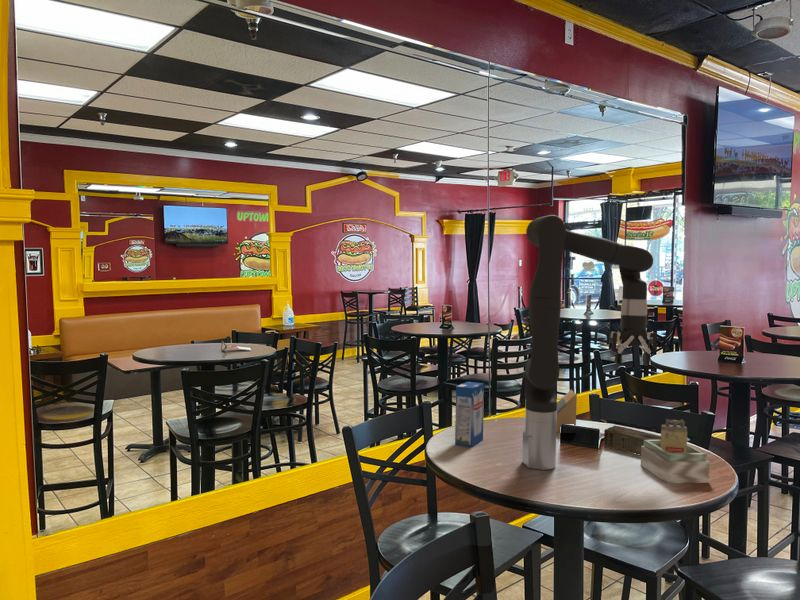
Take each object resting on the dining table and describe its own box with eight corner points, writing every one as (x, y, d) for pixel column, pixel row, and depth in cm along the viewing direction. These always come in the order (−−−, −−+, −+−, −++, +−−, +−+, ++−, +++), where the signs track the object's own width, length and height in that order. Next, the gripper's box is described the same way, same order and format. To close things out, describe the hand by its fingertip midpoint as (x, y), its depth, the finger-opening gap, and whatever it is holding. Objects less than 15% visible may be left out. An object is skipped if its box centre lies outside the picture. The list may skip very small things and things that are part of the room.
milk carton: (472, 447, 187) (472, 388, 186) (455, 444, 191) (455, 386, 190) (483, 440, 196) (484, 383, 195) (466, 437, 199) (467, 381, 198)
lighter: (661, 454, 163) (662, 420, 162) (658, 450, 167) (659, 417, 166) (688, 456, 162) (689, 422, 161) (684, 452, 165) (685, 418, 165)
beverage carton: (660, 461, 176) (660, 440, 176) (602, 447, 190) (602, 428, 190) (670, 455, 181) (670, 435, 181) (613, 442, 195) (613, 423, 195)
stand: (667, 483, 156) (668, 455, 156) (640, 465, 171) (641, 439, 171) (708, 482, 157) (709, 454, 157) (678, 464, 172) (679, 438, 172)
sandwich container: (529, 426, 214) (530, 388, 213) (570, 428, 213) (571, 389, 212) (533, 433, 206) (534, 392, 205) (575, 434, 204) (576, 393, 204)
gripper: (649, 313, 179) (647, 363, 179) (606, 312, 178) (604, 363, 178) (662, 314, 171) (660, 367, 172) (617, 314, 170) (615, 367, 171)
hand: (632, 365), depth 175 cm, fingers open, 8 cm apart
